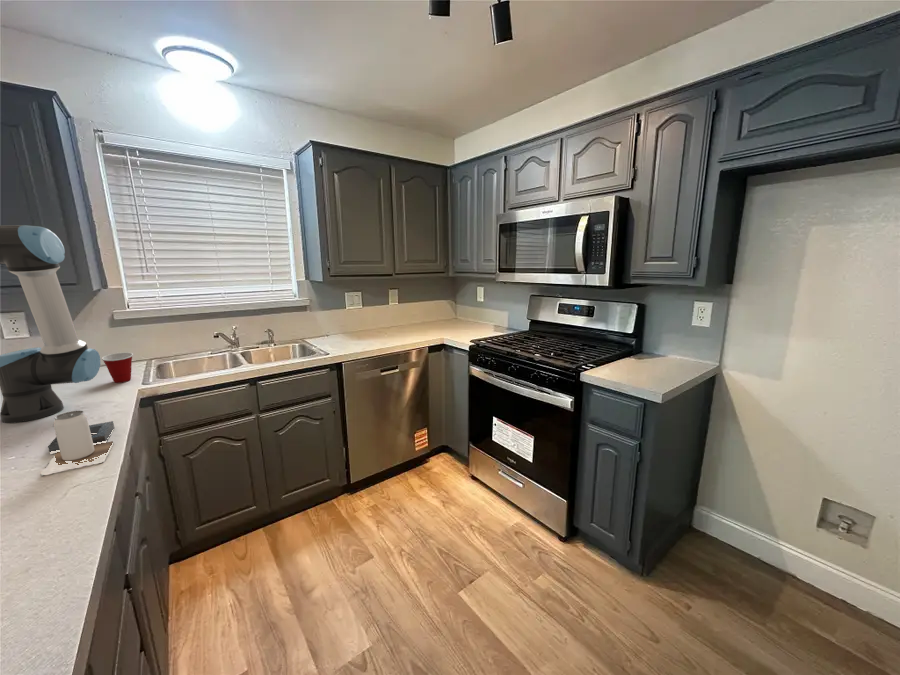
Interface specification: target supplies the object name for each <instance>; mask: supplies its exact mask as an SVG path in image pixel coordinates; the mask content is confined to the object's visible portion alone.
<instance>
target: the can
mask: <svg viewBox="0 0 900 675" xmlns="http://www.w3.org/2000/svg"><path fill="white" fill-rule="evenodd" d="M53 419H54V421H53V429H54V432H55V438H56V437H57V441H58V445H59V449H60V453H61V456H62V459H63V460H65V461H74V460H78V459H82V458H85V457H87V456H89V455H91V454H92V453H93V452H94V445H93V441H92V436H91V432H90V428H89V425H90V424H89V421H88V420H89V419H88V416H87V415H86V414H85V413H84V411H83V410H72V411H71V410H70V411H67V412H64V413H59V414H58V415H56V416H55V417H54V418H53Z"/></svg>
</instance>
